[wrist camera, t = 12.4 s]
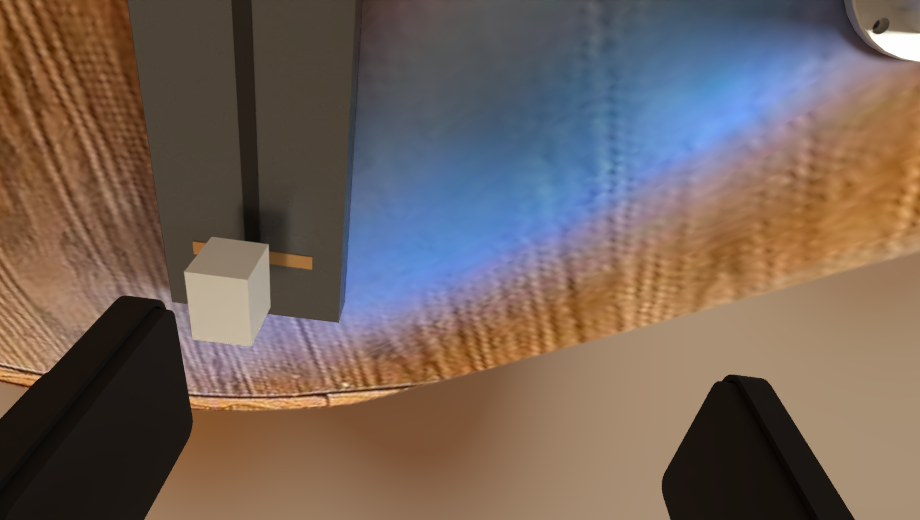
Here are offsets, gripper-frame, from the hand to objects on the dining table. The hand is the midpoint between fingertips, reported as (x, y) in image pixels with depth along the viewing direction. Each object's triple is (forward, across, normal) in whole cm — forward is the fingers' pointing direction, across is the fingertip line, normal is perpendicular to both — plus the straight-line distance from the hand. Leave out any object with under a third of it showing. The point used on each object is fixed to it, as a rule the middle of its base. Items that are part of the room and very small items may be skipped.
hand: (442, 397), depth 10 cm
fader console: (+27, +12, +6) cm, 30 cm away
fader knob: (+24, +13, +14) cm, 31 cm away
